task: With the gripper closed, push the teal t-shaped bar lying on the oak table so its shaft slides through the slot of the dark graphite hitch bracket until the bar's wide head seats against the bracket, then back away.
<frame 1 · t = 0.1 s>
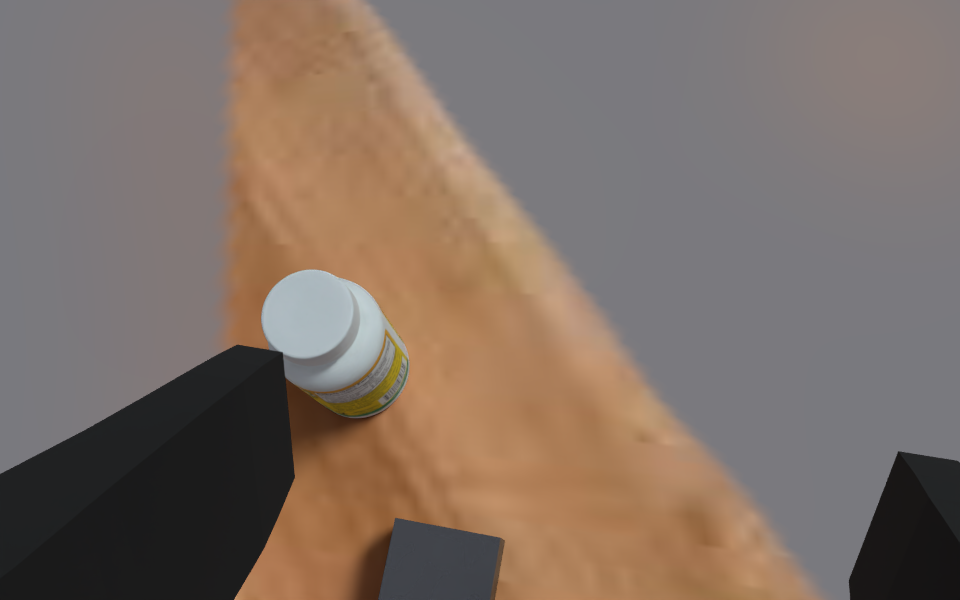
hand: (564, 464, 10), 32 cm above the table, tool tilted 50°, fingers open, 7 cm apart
supplement bottle: (361, 370, 44), on the table
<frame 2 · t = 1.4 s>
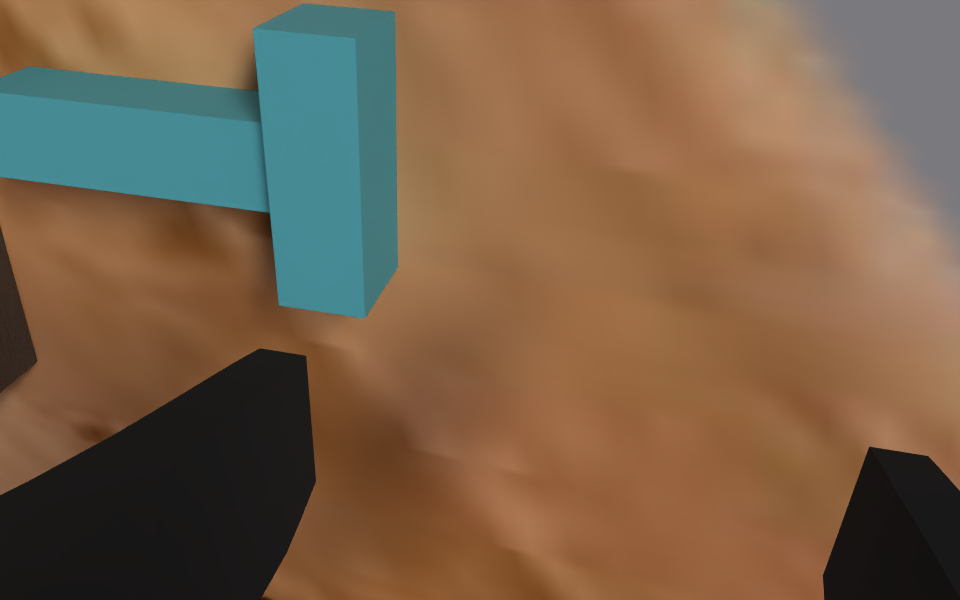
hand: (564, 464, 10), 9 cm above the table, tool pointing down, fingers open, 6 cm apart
teal t-shaped bar: (354, 144, 19), on the table
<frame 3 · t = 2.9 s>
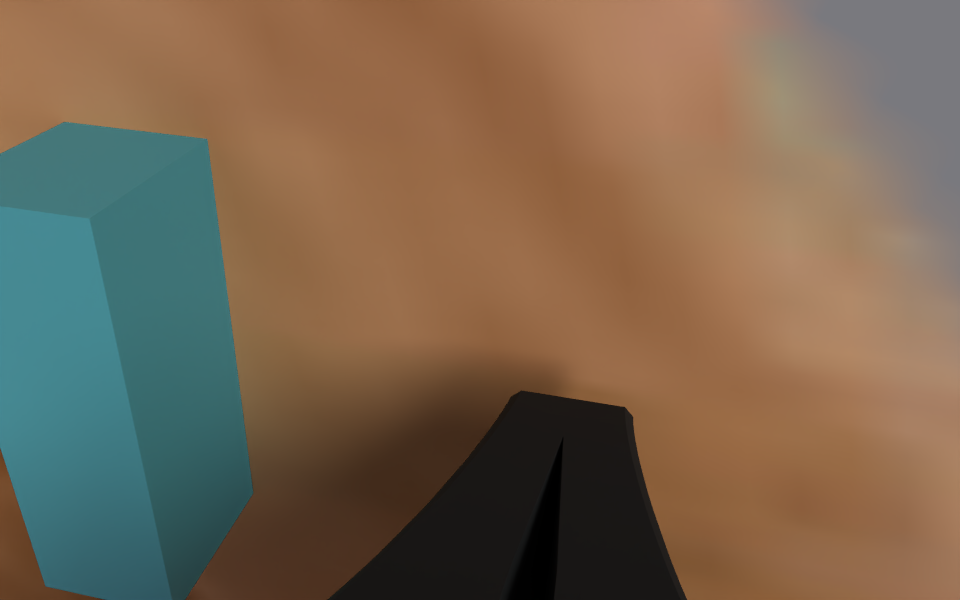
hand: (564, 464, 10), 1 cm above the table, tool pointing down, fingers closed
teal t-shaped bar: (171, 326, 12), on the table
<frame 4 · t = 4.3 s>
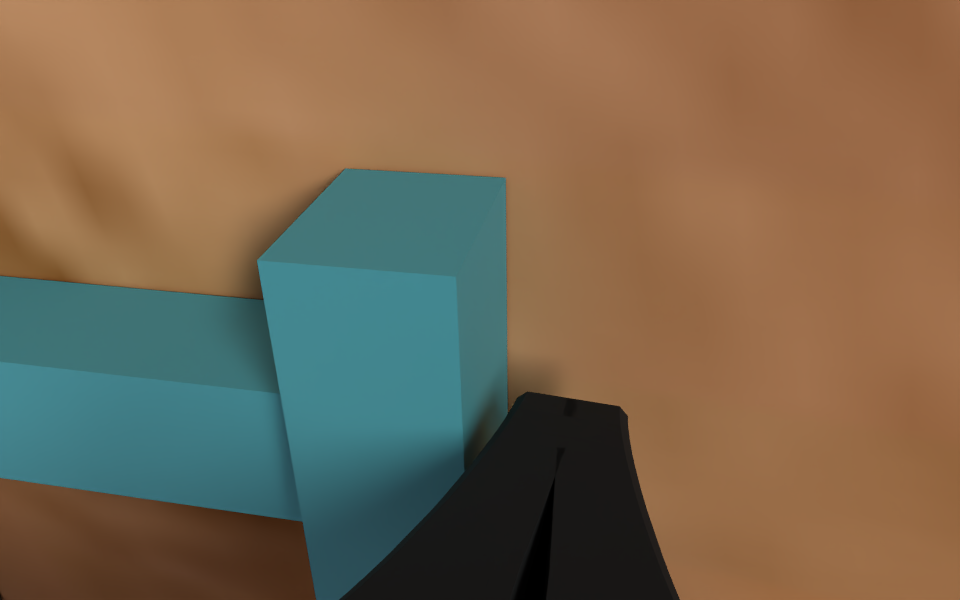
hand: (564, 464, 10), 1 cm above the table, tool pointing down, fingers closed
teal t-shaped bar: (436, 377, 12), on the table, touching gripper
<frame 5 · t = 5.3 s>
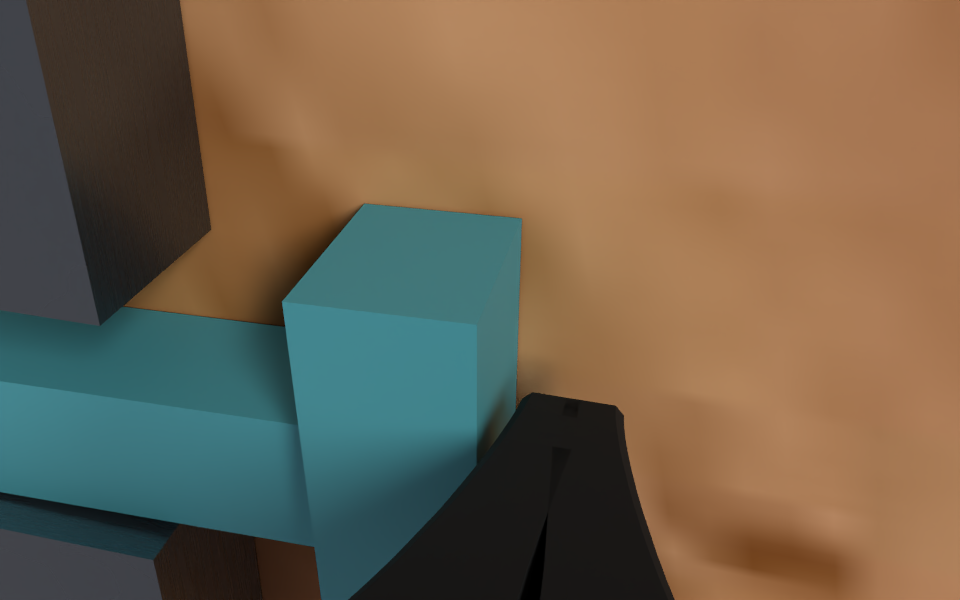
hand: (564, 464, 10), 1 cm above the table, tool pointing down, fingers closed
teal t-shaped bar: (445, 406, 12), on the table, touching gripper
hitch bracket: (71, 317, 13), on the table
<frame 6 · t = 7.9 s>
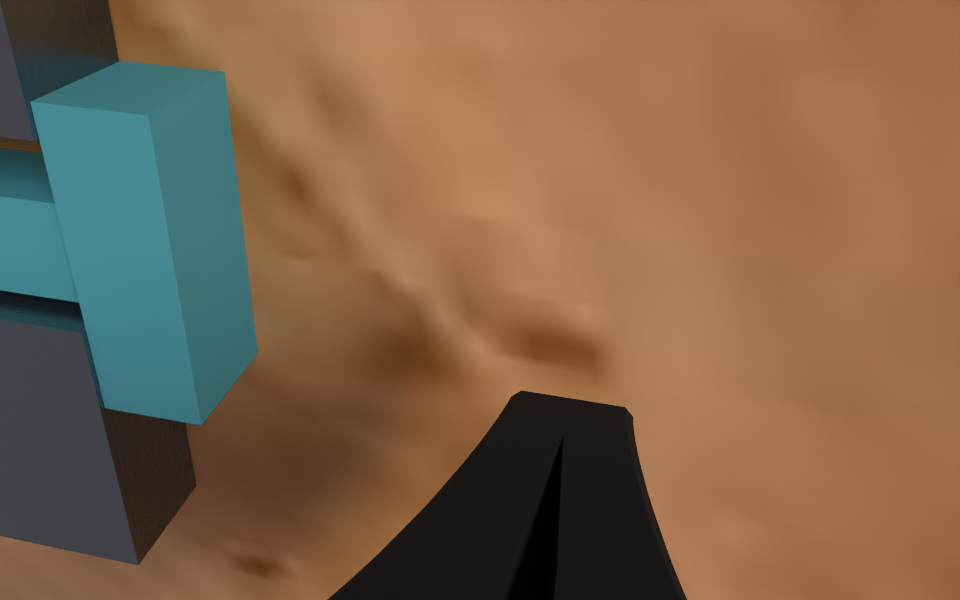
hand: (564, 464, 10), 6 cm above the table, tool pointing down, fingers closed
teal t-shaped bar: (196, 218, 16), on the table
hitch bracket: (26, 171, 17), on the table
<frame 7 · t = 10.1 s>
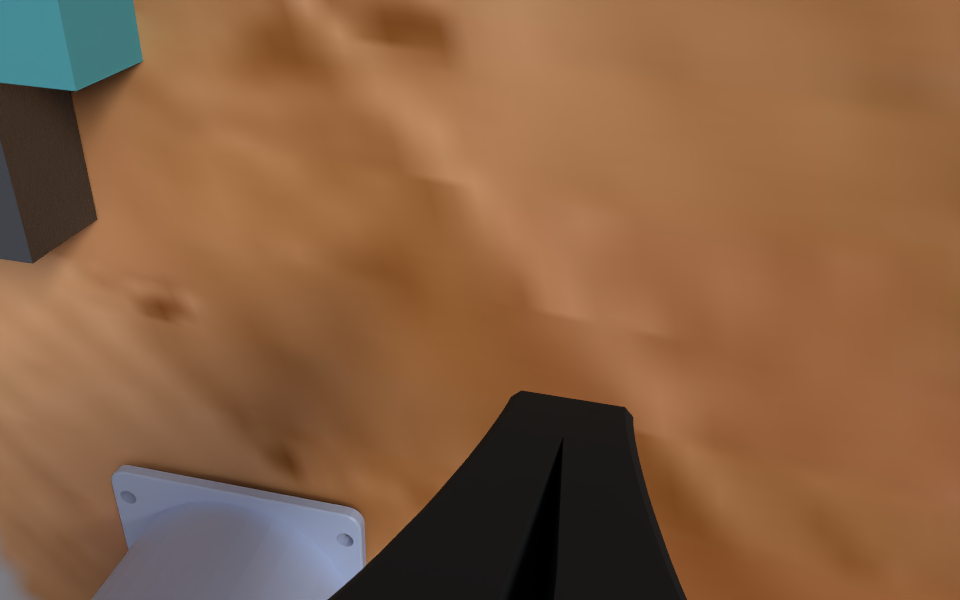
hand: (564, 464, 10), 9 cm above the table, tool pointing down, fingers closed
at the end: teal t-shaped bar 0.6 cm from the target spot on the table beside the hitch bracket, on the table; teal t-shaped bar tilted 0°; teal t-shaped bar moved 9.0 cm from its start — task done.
